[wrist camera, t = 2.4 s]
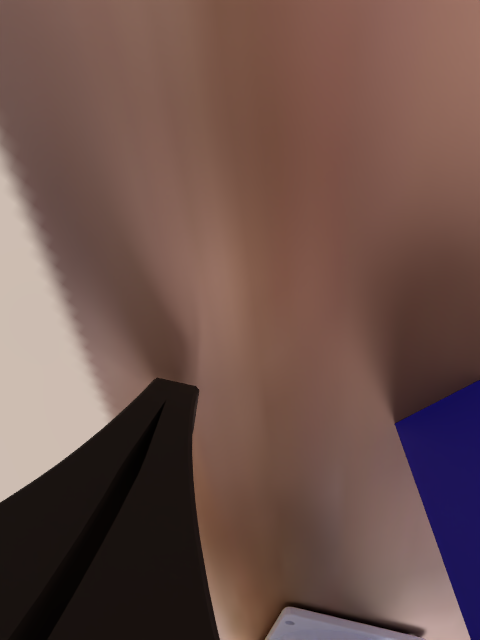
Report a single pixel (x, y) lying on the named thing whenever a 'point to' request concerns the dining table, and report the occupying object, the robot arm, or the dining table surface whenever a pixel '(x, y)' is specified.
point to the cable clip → (451, 488)
